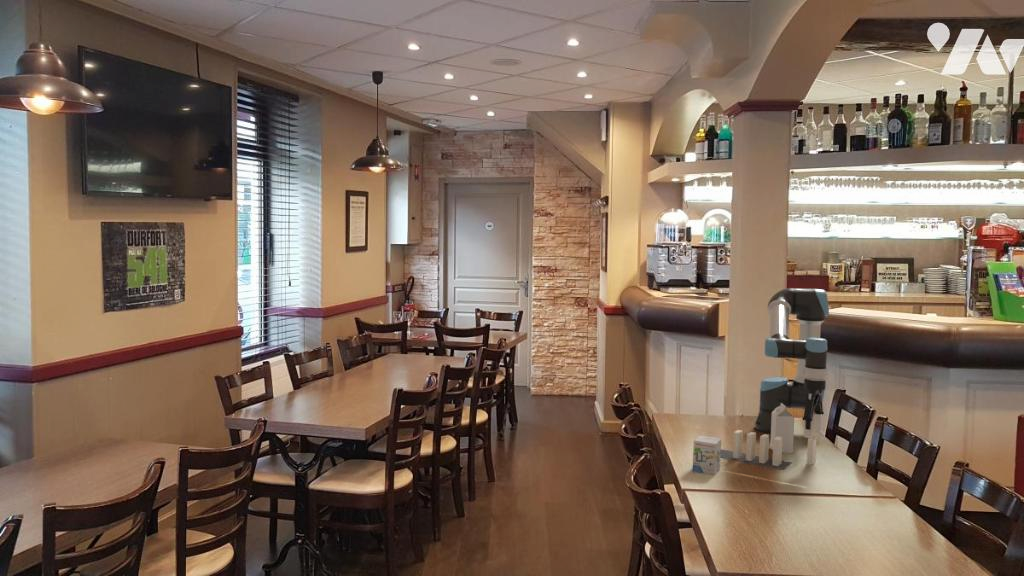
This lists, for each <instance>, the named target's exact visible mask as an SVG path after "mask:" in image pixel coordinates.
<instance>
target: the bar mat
mask: <svg viewBox="0 0 1024 576" xmlns="http://www.w3.org/2000/svg"><path fill="white" fill-rule="evenodd" d="M720 459H722V460H728V461H734V462H738V463H744V464H750V465H754V466H760V467H766V468H771V469H776V470H781V471H784V470H786V469H787V468H788V467H789V466H790V465H792V463H793V462H792V461H786V460H782V463H781V464H780V465H779V466H774V465H772V461H773V458H771V457H768V461H767V462H766V463H759V455H755V458H754V459H753V460H752V461H748V460H746V453H743V452H742V456H741V457H740V458H738V459H737V458H733V450H732V451H731V450H726V449H722V448H721V456H720Z"/></svg>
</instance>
